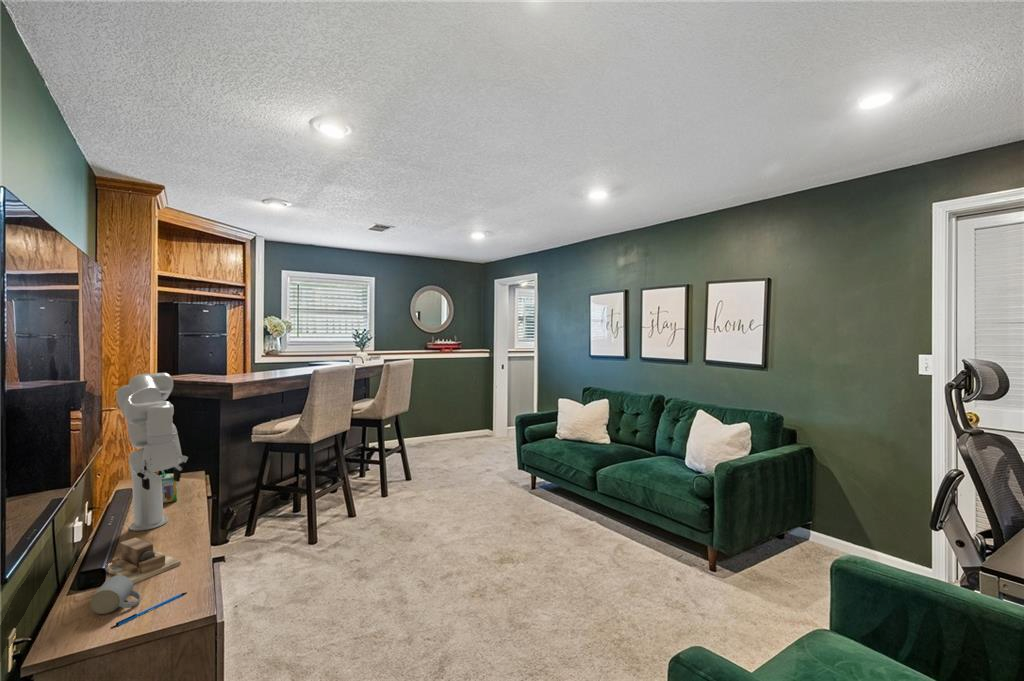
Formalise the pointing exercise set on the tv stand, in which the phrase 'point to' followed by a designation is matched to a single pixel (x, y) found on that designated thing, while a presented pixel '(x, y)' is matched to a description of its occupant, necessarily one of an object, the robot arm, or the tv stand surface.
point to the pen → (146, 610)
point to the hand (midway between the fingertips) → (162, 484)
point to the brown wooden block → (136, 551)
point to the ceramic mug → (114, 595)
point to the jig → (142, 567)
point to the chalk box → (169, 487)
